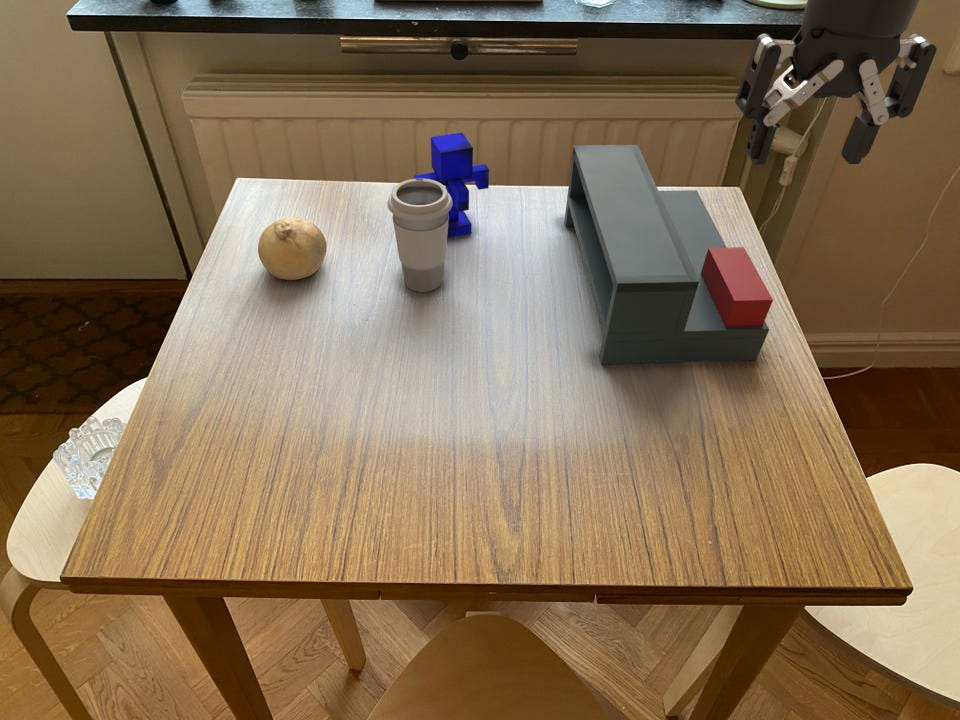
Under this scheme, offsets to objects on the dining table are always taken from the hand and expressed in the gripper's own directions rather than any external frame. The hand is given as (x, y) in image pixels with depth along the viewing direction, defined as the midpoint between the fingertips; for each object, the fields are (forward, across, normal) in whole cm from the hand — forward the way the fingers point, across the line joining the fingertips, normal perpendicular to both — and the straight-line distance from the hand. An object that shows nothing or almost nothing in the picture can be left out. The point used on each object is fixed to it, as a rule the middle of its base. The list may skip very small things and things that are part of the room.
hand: (803, 160), depth 63 cm
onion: (+22, -50, +16) cm, 56 cm away
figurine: (+22, -30, +24) cm, 44 cm away
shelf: (+22, -7, +11) cm, 26 cm away
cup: (+22, -34, +13) cm, 43 cm away
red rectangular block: (+18, -1, +2) cm, 18 cm away
